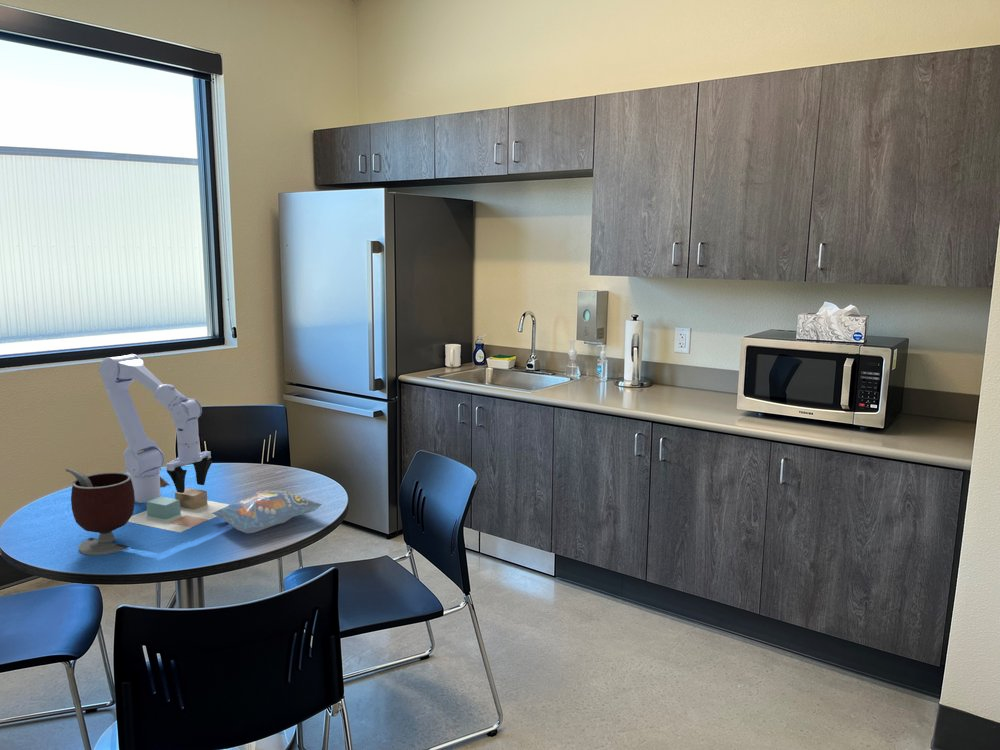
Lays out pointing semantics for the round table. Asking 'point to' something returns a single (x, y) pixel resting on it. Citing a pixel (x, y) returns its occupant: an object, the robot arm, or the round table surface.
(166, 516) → the teal block
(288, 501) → the packet
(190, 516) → the baseplate
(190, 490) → the walnut block
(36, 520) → the round table surface
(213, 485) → the round table surface
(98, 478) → the mate gourd
